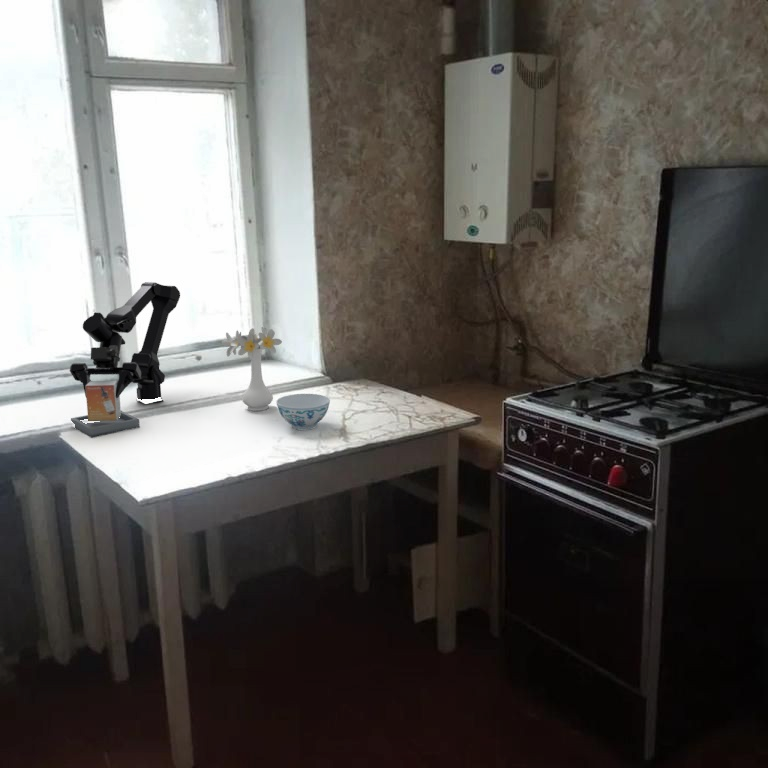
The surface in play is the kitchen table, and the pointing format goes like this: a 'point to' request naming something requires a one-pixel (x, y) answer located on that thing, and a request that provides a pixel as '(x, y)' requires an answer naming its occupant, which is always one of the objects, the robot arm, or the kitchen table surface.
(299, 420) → the chinaware
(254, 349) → the flower vase
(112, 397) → the small box
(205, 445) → the kitchen table surface
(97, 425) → the tray
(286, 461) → the kitchen table surface
